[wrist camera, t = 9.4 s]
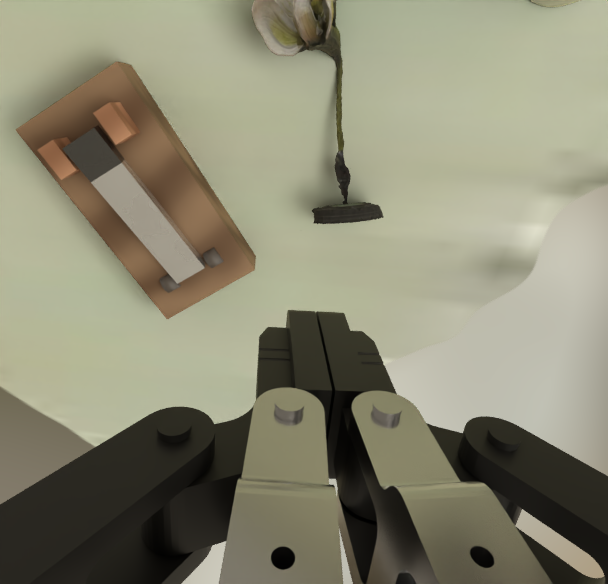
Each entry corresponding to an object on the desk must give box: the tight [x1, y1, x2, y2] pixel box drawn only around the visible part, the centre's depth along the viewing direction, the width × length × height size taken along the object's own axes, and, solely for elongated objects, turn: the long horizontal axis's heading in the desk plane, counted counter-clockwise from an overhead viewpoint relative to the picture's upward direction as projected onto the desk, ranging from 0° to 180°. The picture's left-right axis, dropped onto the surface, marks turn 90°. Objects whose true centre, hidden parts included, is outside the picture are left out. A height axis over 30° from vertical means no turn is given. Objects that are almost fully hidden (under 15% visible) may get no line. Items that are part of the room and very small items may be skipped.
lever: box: [63, 125, 205, 284], centre depth 37 cm, size 14×3×1 cm, turn 30°
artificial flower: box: [252, 0, 384, 224], centre depth 37 cm, size 9×22×10 cm, turn 6°
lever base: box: [16, 62, 256, 319], centre depth 39 cm, size 20×10×7 cm, turn 29°
